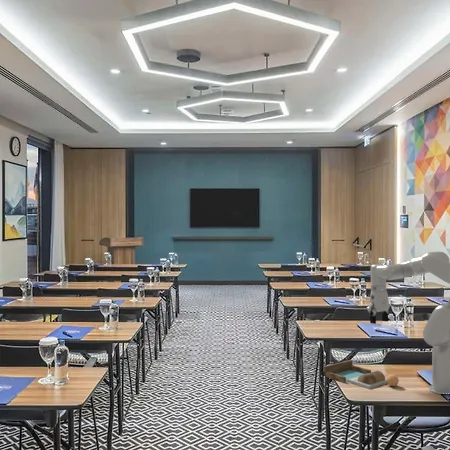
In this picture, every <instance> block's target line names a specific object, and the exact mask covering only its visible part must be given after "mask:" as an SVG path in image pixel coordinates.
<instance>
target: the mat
mask: <svg viewBox="0 0 450 450" xmlns="http://www.w3.org/2000/svg"><path fill="white" fill-rule="evenodd" d="M337 375H341V376H344V377H346V382H347V379H351V378H354V377H358V376H361V375H364V374H363V373H360V372H356V371H353V370H348V371H344V372H341V373H337ZM346 382H345V383H346ZM347 383H348V382H347Z"/></svg>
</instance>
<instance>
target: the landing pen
mask: <svg viewBox="0 0 450 450" xmlns="http://www.w3.org/2000/svg"><path fill="white" fill-rule="evenodd" d="M348 370H353V371H356V372H360V373H363V374H368V373H371V372H372V370H371V369H369V368H364V367H361V366H357V365H354V364H353V359H349V360H344V361H340V362H335V363H332V364H328V365H325V366H323V376H324V377H325V378H328V379H331V380H335V381H338V382H341V383H346V377H344V376H341V375H337V373H341V372H344V371H348Z"/></svg>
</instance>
